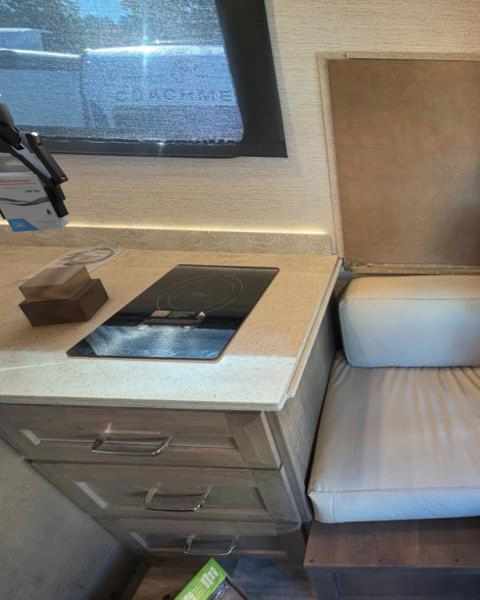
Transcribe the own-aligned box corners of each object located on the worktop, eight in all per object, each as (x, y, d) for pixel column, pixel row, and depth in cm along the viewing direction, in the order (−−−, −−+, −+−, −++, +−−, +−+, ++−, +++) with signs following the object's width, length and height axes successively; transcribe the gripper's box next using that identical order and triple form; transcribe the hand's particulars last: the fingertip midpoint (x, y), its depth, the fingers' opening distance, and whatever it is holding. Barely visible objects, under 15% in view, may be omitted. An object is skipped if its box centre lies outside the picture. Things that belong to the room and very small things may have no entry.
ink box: (12, 232, 71) (-31, 159, 64) (22, 225, 75) (-17, 155, 67) (63, 228, 75) (28, 158, 67) (70, 222, 78) (38, 155, 71)
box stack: (32, 326, 77) (7, 289, 72) (59, 302, 86) (39, 267, 81) (88, 320, 80) (68, 284, 74) (109, 298, 89) (93, 264, 83)
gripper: (56, 101, 68) (103, 210, 79) (-84, 95, 62) (-13, 213, 74) (33, 101, 62) (87, 219, 73) (-125, 95, 56) (-40, 224, 68)
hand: (37, 216), depth 74 cm, fingers closed on ink box, 9 cm apart
